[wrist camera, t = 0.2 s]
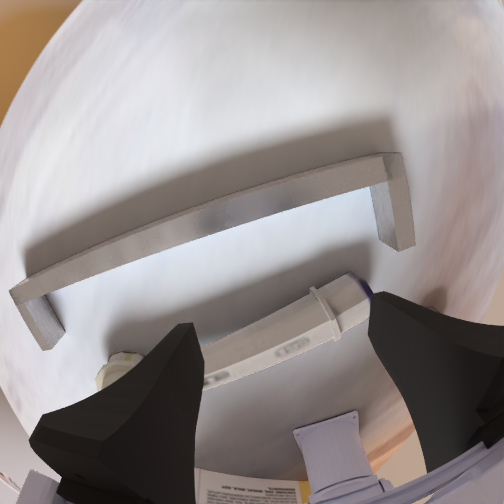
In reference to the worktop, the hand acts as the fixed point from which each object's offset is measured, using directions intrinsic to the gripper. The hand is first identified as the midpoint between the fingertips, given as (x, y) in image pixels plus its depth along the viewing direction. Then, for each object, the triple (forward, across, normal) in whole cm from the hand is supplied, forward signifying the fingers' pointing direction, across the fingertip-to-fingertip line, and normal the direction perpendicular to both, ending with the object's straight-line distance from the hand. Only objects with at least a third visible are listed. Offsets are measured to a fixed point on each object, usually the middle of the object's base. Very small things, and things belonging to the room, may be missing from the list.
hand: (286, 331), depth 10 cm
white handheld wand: (+11, +5, +7) cm, 14 cm away
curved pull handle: (+10, +6, 0) cm, 12 cm away
